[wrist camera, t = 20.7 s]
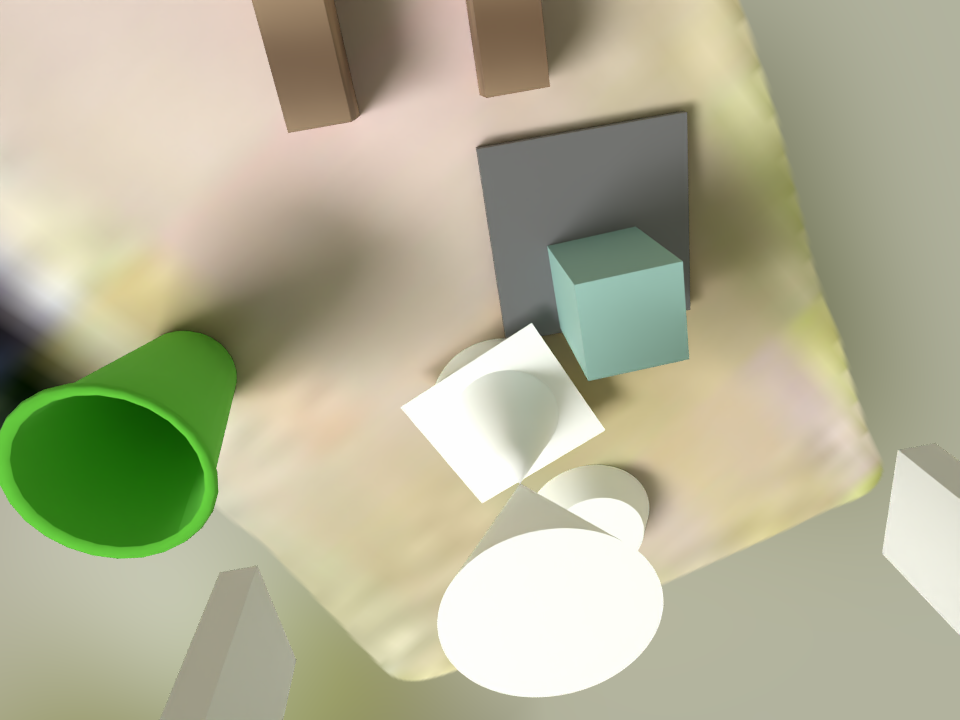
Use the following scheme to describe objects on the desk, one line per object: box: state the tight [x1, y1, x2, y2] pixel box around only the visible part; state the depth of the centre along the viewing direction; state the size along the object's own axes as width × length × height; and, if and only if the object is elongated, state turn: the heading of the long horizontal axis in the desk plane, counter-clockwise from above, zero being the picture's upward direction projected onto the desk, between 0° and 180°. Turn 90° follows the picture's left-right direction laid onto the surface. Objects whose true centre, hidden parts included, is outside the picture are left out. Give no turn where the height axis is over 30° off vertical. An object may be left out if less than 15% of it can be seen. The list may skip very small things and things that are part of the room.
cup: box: [0, 331, 237, 559], centre depth 32 cm, size 9×9×11 cm
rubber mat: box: [476, 111, 690, 339], centre depth 35 cm, size 11×11×1 cm
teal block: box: [547, 227, 689, 381], centre depth 33 cm, size 5×5×7 cm
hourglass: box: [401, 323, 663, 697], centre depth 34 cm, size 20×9×17 cm, turn 34°
